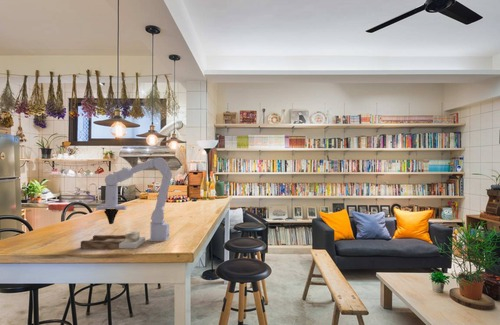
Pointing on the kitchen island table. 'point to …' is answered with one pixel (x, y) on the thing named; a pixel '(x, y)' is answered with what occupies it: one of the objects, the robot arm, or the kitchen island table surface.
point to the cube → (132, 236)
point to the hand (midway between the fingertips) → (111, 223)
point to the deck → (111, 242)
